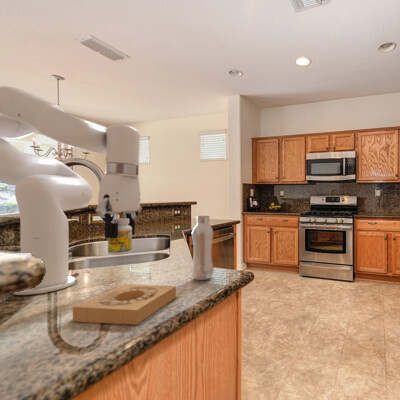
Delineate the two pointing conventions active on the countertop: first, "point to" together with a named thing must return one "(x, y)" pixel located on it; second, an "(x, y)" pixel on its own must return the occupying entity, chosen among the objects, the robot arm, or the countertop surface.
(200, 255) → the plastic bottle
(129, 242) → the supplement bottle
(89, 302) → the socket pad
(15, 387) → the countertop surface
